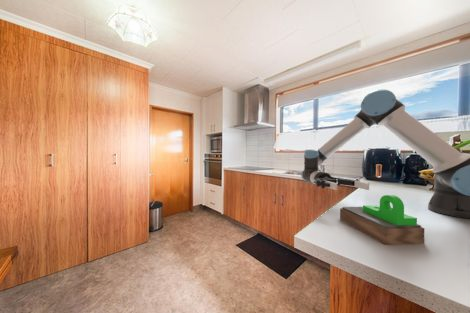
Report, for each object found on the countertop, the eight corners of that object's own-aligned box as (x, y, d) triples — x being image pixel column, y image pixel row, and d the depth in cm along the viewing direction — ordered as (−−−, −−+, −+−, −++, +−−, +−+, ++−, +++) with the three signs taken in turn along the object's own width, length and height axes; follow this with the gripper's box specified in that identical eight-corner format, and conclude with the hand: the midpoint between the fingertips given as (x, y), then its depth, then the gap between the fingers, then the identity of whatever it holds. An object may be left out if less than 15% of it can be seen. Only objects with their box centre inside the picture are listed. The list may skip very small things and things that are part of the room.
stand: (368, 218, 65) (368, 206, 65) (424, 243, 47) (424, 226, 47) (339, 219, 64) (340, 206, 64) (385, 244, 46) (385, 227, 46)
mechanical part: (416, 225, 48) (417, 197, 47) (397, 225, 47) (397, 197, 47) (378, 210, 60) (379, 189, 59) (362, 211, 59) (363, 189, 59)
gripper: (343, 185, 88) (381, 195, 66) (298, 186, 86) (322, 196, 65) (343, 171, 88) (381, 177, 66) (298, 171, 86) (322, 177, 65)
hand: (352, 186), depth 65 cm, fingers open, 13 cm apart
